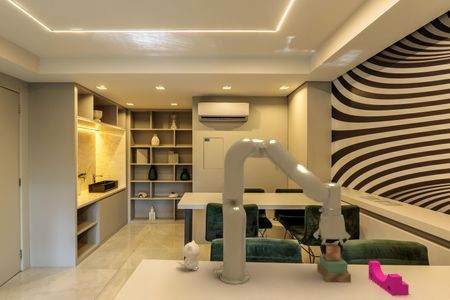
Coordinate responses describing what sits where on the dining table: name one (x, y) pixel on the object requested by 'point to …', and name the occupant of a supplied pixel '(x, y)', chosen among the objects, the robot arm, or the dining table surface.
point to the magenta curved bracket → (387, 280)
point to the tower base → (333, 275)
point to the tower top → (333, 265)
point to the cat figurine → (190, 255)
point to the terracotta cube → (332, 252)
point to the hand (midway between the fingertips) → (331, 252)
